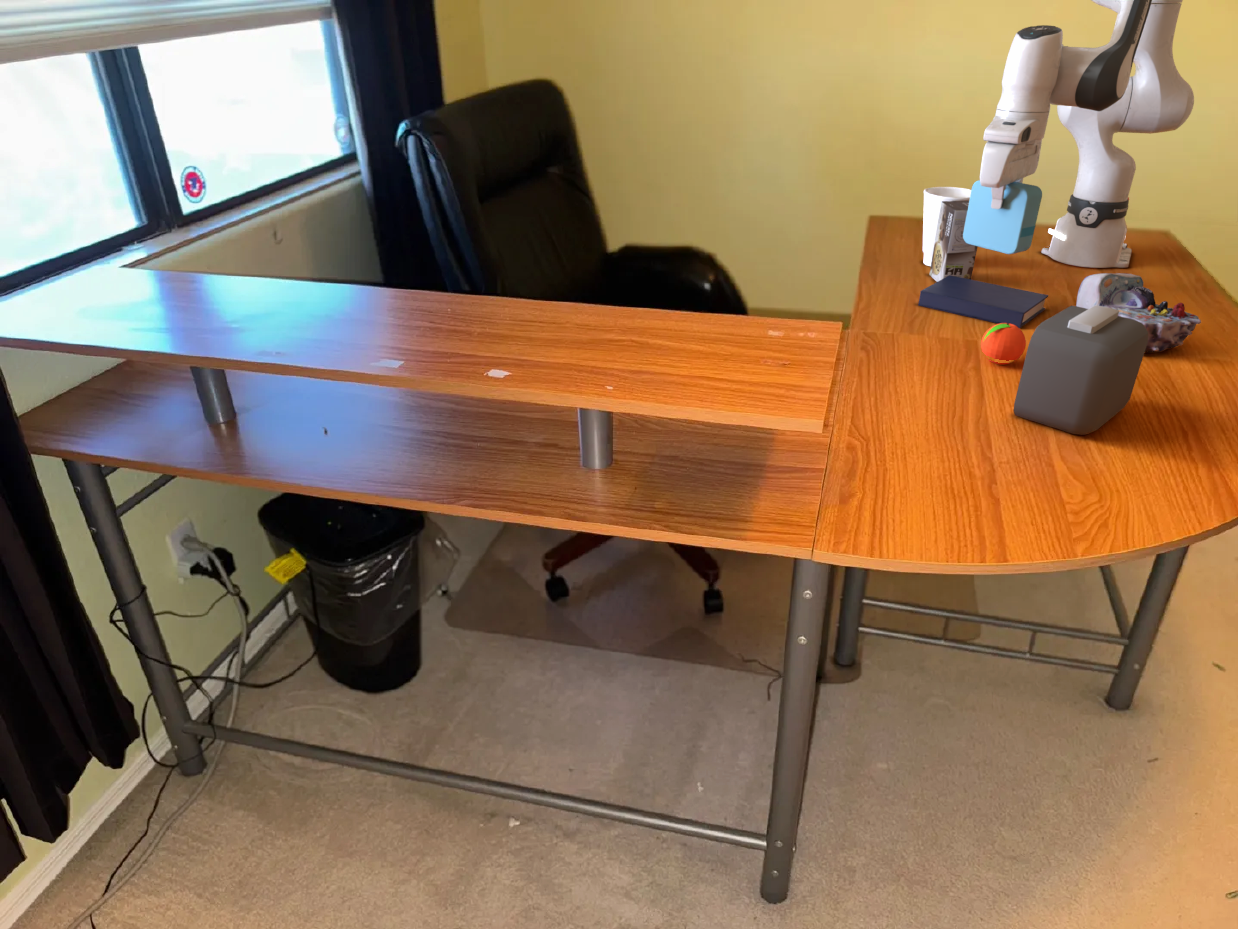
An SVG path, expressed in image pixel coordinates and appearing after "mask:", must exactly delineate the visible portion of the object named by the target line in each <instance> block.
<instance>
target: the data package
mask: <svg viewBox="0 0 1238 929" xmlns="http://www.w3.org/2000/svg"><path fill="white" fill-rule="evenodd" d="M991 189H992V188H990V187H984V186H981V184H980V179H978V180H976V181H975V182H974V183H973V184H972V186H971V189H970V190H971V195H970V200H969V205H968V211H967V216H966V221H965V227H964V232H963V239H964V241H965V242H966V243H967V244H970V245H974V246H978V247H979V248H981V249H986V250H990V251H993V252H998V253H1002V254H1006V255H1014V254H1018V253H1023V252H1026V251H1028V250H1029V249H1030V248H1031V246H1032V242H1033V238H1034V234H1035V228H1036V224H1037V220H1038V216H1039V212H1040V208H1041V202H1042V198H1043V190H1042V189H1041V188H1040V187H1039V186H1038V185H1034V184H1029V183H1024V182H1022V183H1018V182H1012V183H1010V184H1007V185H1006V190H1004V199H1005V200H1004V205H1003V207H1002V208H1000V209H993V208H991V203H992V192H991ZM978 247H977V248H978Z"/></svg>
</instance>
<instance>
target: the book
mask: <svg viewBox="0 0 1238 929" xmlns="http://www.w3.org/2000/svg"><path fill="white" fill-rule="evenodd" d="M1048 298H1049V294H1045V293H1041V292H1040V293H1039V292H1036V291H1035V292H1034V291H1030V290H1025V289H1020V288H1015V287H1009V286H1004V285H1000V284H994V283H990V282H985V281H979V280H975V279H971V280H970V279H965V278H961V277H956V276H951V275H949V276H947V277H945V278H944V279H942V280H940V281H938V282H936V281H935V282H934V283H933V284H931V285H929V286H926V288H924V289H921V290H920V293H919V298H918V304H917V306H918V307H924V308H928V309H931V310H932V309H933V310H937V311H941V312H945V313H950V314H954V315H959V316H964V317H967V318H973V319H977V320H981V321H984V322H985V321H986V322H990V323H994V324H999V323H1010V324H1013V325H1015V326H1017V327H1018V328H1019V329H1021V328H1023V327H1024V326H1026V325H1027V324H1028V323H1030V322H1031V321H1032V320H1033V319H1036V317H1038V316H1039V315H1040V314H1042V313H1043V312H1044V311H1045V310H1046V307H1044V305H1045V302H1046V299H1048Z"/></svg>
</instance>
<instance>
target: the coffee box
mask: <svg viewBox="0 0 1238 929" xmlns="http://www.w3.org/2000/svg"><path fill="white" fill-rule="evenodd" d="M968 205H969V201H942V202H941V208H940V214H939V220H938V225H937V231H936V238H935V244H934V250H933V256H932V262H931V266H930V269H929V276H930V277H931V278H932V279H933V280H934V281H935V283H936V282H938V281H940V280H942V279H944V278H945V277H947V276H949V275H951V276H956V277H961V278H965V279H970V280H972V277H973V272H974V267H975V262H976V257H977V252H978V246H974V245H970V244H967V243H966V242H965V241H964V239H963V232H964V227H965V221H966V216H967V211H968Z"/></svg>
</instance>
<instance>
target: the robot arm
mask: <svg viewBox="0 0 1238 929" xmlns="http://www.w3.org/2000/svg"><path fill="white" fill-rule="evenodd" d="M1090 1H1091V2H1092V3H1094V4H1095V5H1098V6H1101V7H1104V8H1107V9H1109V10H1110V11H1113V12H1115V13H1116V18H1115V24H1114V27H1113V30H1112V32H1111V35H1110V40H1109V42H1108V43H1106V44H1104V45H1102V46H1098V47H1084V46H1083V47H1081V46H1068V45H1064V44H1063V40H1064V37H1063V36H1064V34H1063V29H1062V28H1061V27H1058V26H1055V25H1050V24H1049V25H1047V24H1042V25H1040V24H1039V25H1034V26H1033V25H1031V26H1027V27H1023V28H1021V29H1020V30H1018V31H1017V32H1016V33H1015V35H1014V37H1013V39H1012V42H1011V44H1010V48H1009V50H1008V53H1007V57H1006V60H1005V64H1004V69H1003V73H1002V79H1001V94H1000V95H1001V96H1000V98H999V101H998V103H997V105H996V110H995V114H994V116H993V119H992V120H991V122H990V123H989V125H988V126H986V128H985V129H984V132H983V138H982V139H983V141H984V142H986V143H985V144H984V147H983V151H982V156H981V164H980V172H979V180H980V184H981V186H984V187H990V188H992V189H991V192H992V203H991V208H993V209H1000V208H1002V207H1003V205H1004V200H1005V199H1004V190H1006V185H1007V184H1010V183H1012V182H1018V183H1024V182H1023V181H1024V178H1027V177H1029V176H1031V175H1034V174H1035V173H1036V171H1037V169H1038V166H1039V161H1040V157H1041V149H1042V144H1043V140H1044V139H1045V134H1046V130H1047V125H1048V121H1049V116H1050V112H1051V105H1054V106H1056V112H1057V117H1058V120H1059V122H1060V123H1061V125H1062V126H1063V127H1064V128H1065V129H1066V130H1067V131H1068V132H1069V133H1070V134H1071V136H1072V137H1073V139H1074V141H1075V144H1076V146H1077V150H1078V166H1077V167H1078V168H1077V173H1076V174H1077V175H1076V180H1075V184H1074V187H1073V188H1074V189H1073V192H1072V194H1071V195H1070V197H1069V200H1068V202H1067V208H1066V211H1067V212H1066V213H1065V214H1064V215H1063V216H1060V218H1058V219H1057V221H1056V224H1055V228H1054V229H1052V228H1048V231H1047V233H1048V234H1050V235H1052V237H1051V241H1050V244H1049V246H1050V247H1049V246H1048V247H1049V248H1045V247H1042V249H1041V251H1040V252H1041V254H1043V255H1046V256H1048V257H1050V258H1051V259H1052V260H1054V261H1056V262H1059V263H1062V264H1064V265H1065V264H1066V265H1070V266H1074V267H1081V268H1092V269H1107V268H1108V269H1109V268H1120V269H1121V268H1122V269H1123V268H1126V269H1127V268H1129V266H1130V261H1131V256H1132V252H1133V249H1132V248H1130V247H1128V244H1127V243H1124V242H1125V240H1126V236H1127V232H1128V225H1127V222H1126V218H1125V217H1126V216H1127V213H1128V210H1129V201H1130V197H1129V195H1130V193H1131V192H1130V191H1131V187H1132V185H1133V181H1134V176H1135V174H1136V170H1137V165H1136V161H1135V159H1134V158H1133V156H1132V155H1131V154H1129V153H1128V152H1126V151H1125V150H1123V149H1122V148H1120V147H1118V146H1116V145H1115V144H1114V142H1113V137H1114V134H1116V133H1126V134H1127V133H1128V134H1150V135H1151V134H1159V133H1166V132H1173V131H1176V130H1178V129H1179V128H1180V127H1182V126H1183V125H1184V124H1185V123H1186V122H1187V120H1188V119H1189V117H1190V116H1191V114H1192V112H1193V109H1194V104H1195V94H1194V90H1193V88H1192V87H1191V85H1190V84H1189V82H1187V80H1185V79H1184V77H1182V76H1181V74H1180V73H1179V70H1178V68H1177V66H1176V63H1175V59H1174V53H1173V44H1174V37H1175V32H1176V27H1177V23H1178V20H1179V15H1180V11H1181V8H1182V3H1183V1H1184V0H1090ZM1133 64H1134V66H1135V71H1134V74H1133V76H1131V73H1132V68H1133Z"/></svg>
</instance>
